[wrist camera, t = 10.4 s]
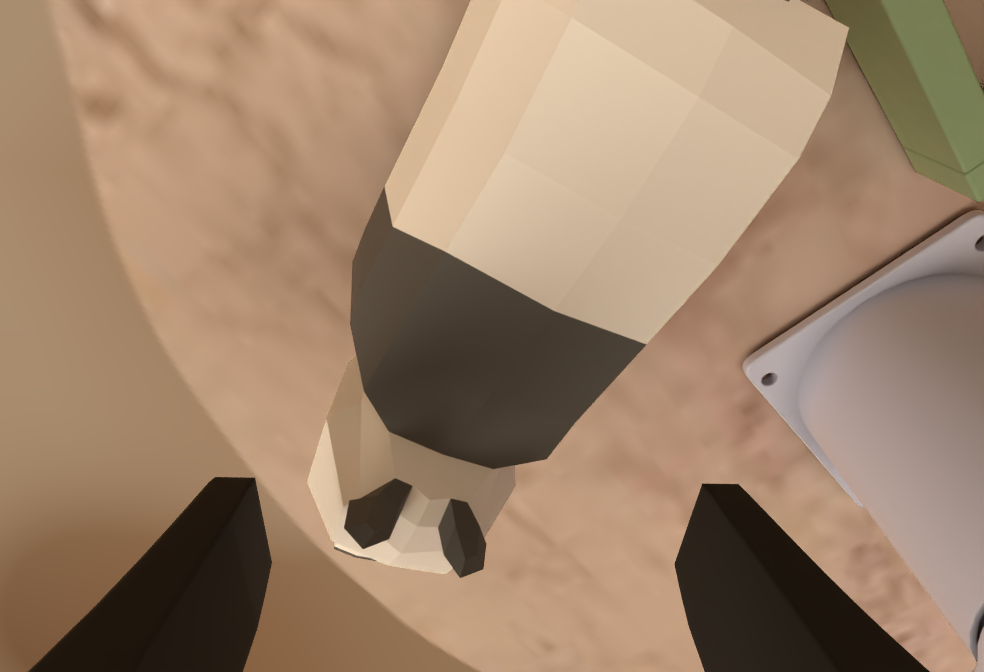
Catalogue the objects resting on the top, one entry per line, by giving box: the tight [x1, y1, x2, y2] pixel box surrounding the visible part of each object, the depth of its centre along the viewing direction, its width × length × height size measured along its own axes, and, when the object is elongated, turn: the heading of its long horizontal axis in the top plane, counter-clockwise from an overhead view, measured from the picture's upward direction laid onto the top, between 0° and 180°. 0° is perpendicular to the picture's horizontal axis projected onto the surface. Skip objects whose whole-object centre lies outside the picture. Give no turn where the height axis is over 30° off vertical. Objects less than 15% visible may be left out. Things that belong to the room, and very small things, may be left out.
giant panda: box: [307, 0, 849, 578], centre depth 13 cm, size 15×6×10 cm, turn 152°
